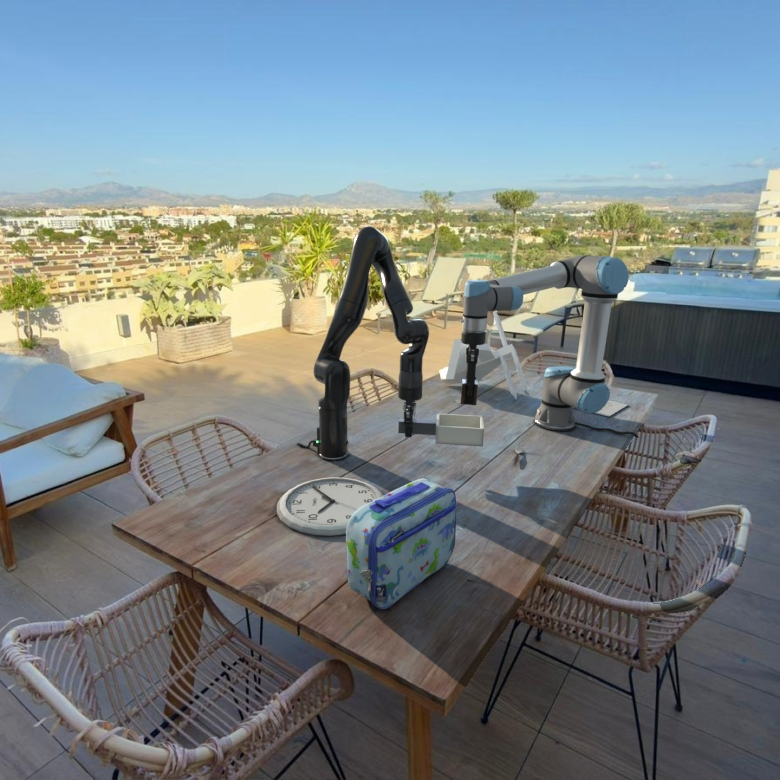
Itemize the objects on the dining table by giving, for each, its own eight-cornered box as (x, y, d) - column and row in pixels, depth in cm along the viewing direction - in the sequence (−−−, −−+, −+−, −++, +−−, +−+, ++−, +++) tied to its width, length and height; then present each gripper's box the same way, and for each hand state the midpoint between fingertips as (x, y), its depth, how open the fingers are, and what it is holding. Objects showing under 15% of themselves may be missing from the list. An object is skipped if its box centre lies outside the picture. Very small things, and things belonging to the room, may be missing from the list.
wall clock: (392, 527, 129) (268, 531, 127) (391, 533, 130) (269, 537, 127) (383, 473, 158) (282, 475, 155) (383, 478, 158) (282, 480, 156)
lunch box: (375, 622, 100) (376, 527, 94) (339, 595, 108) (338, 505, 101) (459, 565, 118) (465, 481, 112) (424, 545, 125) (427, 465, 119)
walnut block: (476, 400, 172) (477, 380, 170) (476, 405, 167) (478, 384, 165) (460, 399, 173) (462, 379, 170) (460, 404, 168) (462, 383, 166)
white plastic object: (461, 429, 252) (437, 405, 227) (444, 352, 274) (420, 323, 250) (535, 404, 240) (518, 377, 215) (510, 326, 262) (492, 293, 237)
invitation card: (608, 416, 214) (573, 407, 224) (608, 416, 214) (573, 408, 224) (628, 404, 229) (594, 396, 238) (628, 405, 229) (594, 397, 238)
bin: (481, 432, 172) (482, 415, 170) (482, 446, 160) (484, 429, 159) (400, 427, 175) (400, 411, 173) (396, 441, 163) (397, 424, 162)
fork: (510, 465, 168) (510, 460, 168) (516, 447, 182) (517, 442, 182) (518, 467, 167) (519, 461, 167) (524, 448, 182) (524, 443, 181)
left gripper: (400, 376, 170) (399, 426, 176) (396, 389, 157) (394, 442, 162) (423, 377, 170) (421, 427, 175) (421, 390, 156) (419, 444, 161)
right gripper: (462, 325, 172) (457, 392, 179) (461, 335, 155) (456, 409, 162) (485, 326, 171) (479, 394, 178) (487, 337, 154) (481, 411, 161)
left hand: (408, 434), depth 169 cm, fingers closed on bin, 3 cm apart
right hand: (468, 401), depth 170 cm, fingers closed on walnut block, 5 cm apart
